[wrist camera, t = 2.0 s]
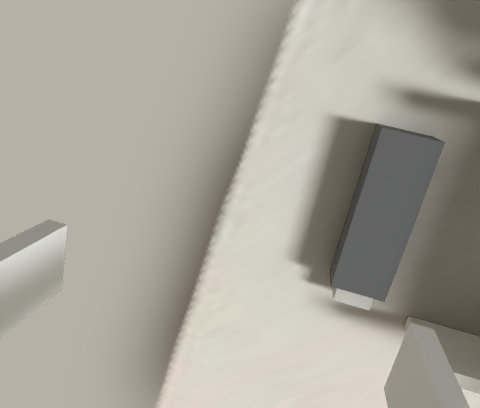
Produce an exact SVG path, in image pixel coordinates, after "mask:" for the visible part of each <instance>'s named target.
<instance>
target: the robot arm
mask: <svg viewBox="0 0 480 408" xmlns="http://www.w3.org/2000/svg"><path fill="white" fill-rule="evenodd" d="M66 234H67V225H66V224H62V223H59V222H55V221H52V220H47V221H44V222H42V223H40V224H38V225H36V226H34V227H32V228H30V229H28V230H26V231H24V232H22V233H20V234H18V235H16V236H14V237H12V238H10V239H8V240H6V241H4V242H2V243H0V338H1V337H2V336H4V335H5V334H6V333H7V332H9V331H10V330H11V329H12V328H14V327H15V326H16V325H17V324H19V323H20V322H21V321H23V320H24V319H25V318H26V317H28V316H29V315H30V314H31V313H33V312H34V311H35V310H37V309H38V308H39V307H40V306H42V305H43V304H44V303H45V302H47V301H48V300H49V299H51V298H52V297H53V296H54V295H56V294H57V293H58V292H59V291H61V290H62V284H63V271H64V259H65V258H64V257H65V246H66ZM384 390H385V395H386V400H387V405H388V408H469V405H468V403H467V401H466V399H465V397H464V394H463V392H462V390H461V388H460V386H459V383H458V381H457V379H456V377H455V375H454V372H453V370H452V368H451V366H450V364H449V361H448V359H447V357H446V355H445V353H444V350H443V348H442V346H441V344H440V342H439V339H438V337H437V335H436V333H435V331H434V329H431V328H428V327H424V326H421V325H417V324H414V323H410V325H409V327H408V330H407V332H406V334H405V337H404V339H403V342H402V344H401V347H400V349H399V352H398V354H397V357H396V359H395V362H394V364H393V367H392V369H391V372H390V374H389V377H388V379H387V382H386V384H385V387H384Z"/></svg>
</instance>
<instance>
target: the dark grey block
mask: <svg viewBox="0 0 480 408" xmlns="http://www.w3.org/2000/svg"><path fill="white" fill-rule="evenodd" d="M444 143H445V142H443V141H441V140H439V139H437V138H435V137H432V136H427V135H423V134H419V133H415V132H410V131H406V130H402V129H398V128H393V127H389V126H385V125H380V124H376V127H375V131H374V134H373V137H372V140H371V143H370V146H369V149H368V153H367V156H366V159H365V162H364V165H363V168H362V171H361V174H360V178H359V181H358V184H357V187H356V190H355V193H354V196H353V200H352V203H351V206H350V209H349V212H348V215H347V218H346V221H345V225H344V228H343V231H342V234H341V237H340V240H339V243H338V247H337V250H336V253H335V256H334V259H333V262H332V265H331V268H330V281H331V287H333V300H334V301H338V302H341V303H345V304H348V305H352V306H355V307H358V308H362V309H365V310H370V308H371V305H372V302H373V300H374V299H376V300H380V301H383V302H385V299H386V297H387V294H388V291H389V289H390V286H391V284H392V281H393V278H394V276H395V273H396V270H397V268H398V265H399V262H400V260H401V257H402V254H403V252H404V249H405V246H406V244H407V241H408V239H409V236H410V233H411V231H412V228H413V225H414V223H415V220H416V217H417V215H418V212H419V209H420V207H421V204H422V201H423V199H424V196H425V194H426V191H427V188H428V186H429V183H430V180H431V178H432V175H433V172H434V170H435V167H436V164H437V162H438V159H439V156H440V154H441V151H442V149H443V146H444Z"/></svg>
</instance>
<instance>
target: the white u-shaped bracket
mask: <svg viewBox="0 0 480 408" xmlns="http://www.w3.org/2000/svg"><path fill="white" fill-rule="evenodd" d="M410 323H414V324H417V325H421V326H424V327H428V328H431V329H434V331H435V333H436V335H437V337H438V339H439V342H440V344H441V346H442V348H443V350H444V353H445V355H446V357H447V359H448V361H449V364H450V366H451V368H452V370H453V372H454V375H455V377H456V379H457V381H458V383H459V386H460V388H462V389H465V390H469V391H472V392H475V393H479V394H480V336H477V335H473V334H470V333H466V332H463V331H459V330H456V329H452V328H449V327H445V326H442V325H438V324H435V323H431V322H428V321H425V320H421V319H418V318H414V317H411V316H408V318H407V321H406V323H405V326H404V327H405V330H406V332H407V330H408V327H409V325H410Z"/></svg>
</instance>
